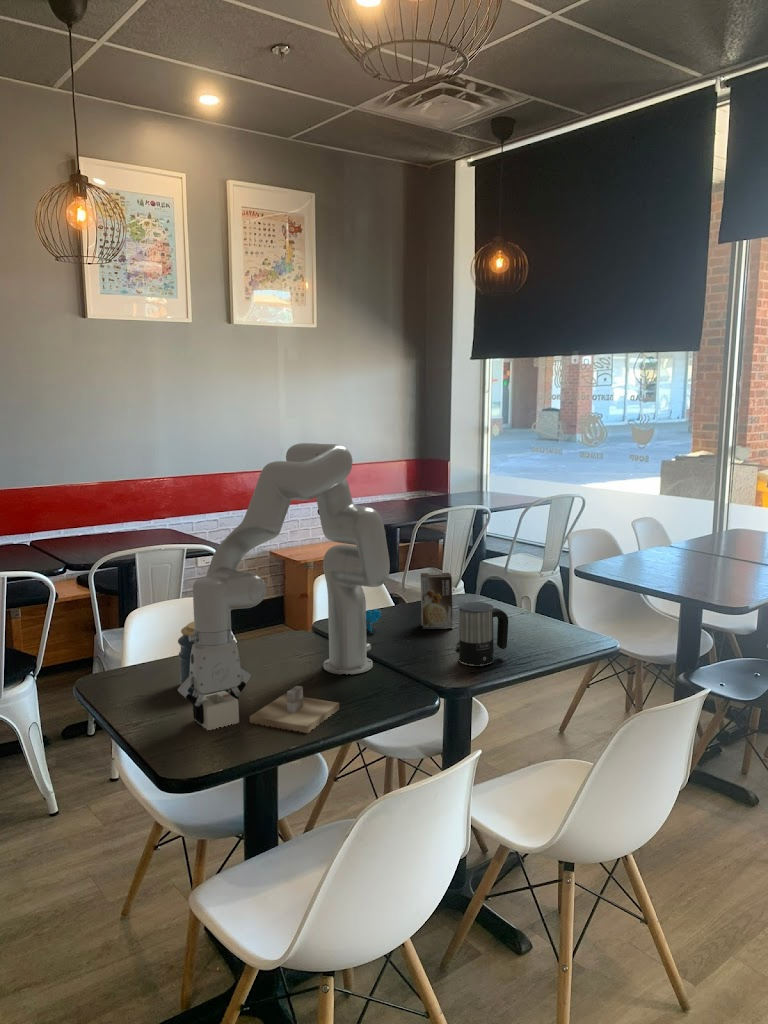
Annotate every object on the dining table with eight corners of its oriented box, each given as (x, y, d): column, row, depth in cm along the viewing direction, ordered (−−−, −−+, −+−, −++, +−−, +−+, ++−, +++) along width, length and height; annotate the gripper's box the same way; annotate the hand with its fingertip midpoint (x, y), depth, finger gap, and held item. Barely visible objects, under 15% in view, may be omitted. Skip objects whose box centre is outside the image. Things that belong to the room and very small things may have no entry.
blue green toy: (375, 620, 240) (382, 603, 232) (383, 637, 237) (391, 620, 229) (342, 630, 235) (348, 613, 227) (350, 647, 232) (357, 631, 224)
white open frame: (194, 720, 169) (193, 696, 169) (225, 712, 174) (224, 689, 173) (208, 730, 164) (206, 706, 163) (239, 722, 168) (238, 698, 167)
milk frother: (476, 670, 199) (476, 612, 197) (432, 655, 211) (432, 601, 209) (513, 658, 208) (513, 603, 206) (469, 644, 220) (469, 592, 218)
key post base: (284, 700, 180) (283, 674, 179) (339, 709, 175) (338, 683, 174) (250, 723, 168) (248, 695, 167) (307, 733, 162) (306, 705, 161)
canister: (216, 698, 182) (213, 624, 180) (169, 692, 186) (165, 619, 184) (245, 680, 194) (242, 610, 192) (200, 674, 198) (196, 605, 196)
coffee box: (450, 623, 241) (450, 572, 239) (452, 629, 235) (452, 576, 233) (420, 624, 241) (420, 572, 239) (422, 630, 235) (421, 577, 233)
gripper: (180, 648, 158) (184, 733, 161) (258, 633, 168) (261, 713, 171) (166, 639, 164) (170, 721, 167) (243, 625, 174) (246, 703, 177)
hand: (216, 716), depth 169 cm, fingers closed on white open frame, 7 cm apart
